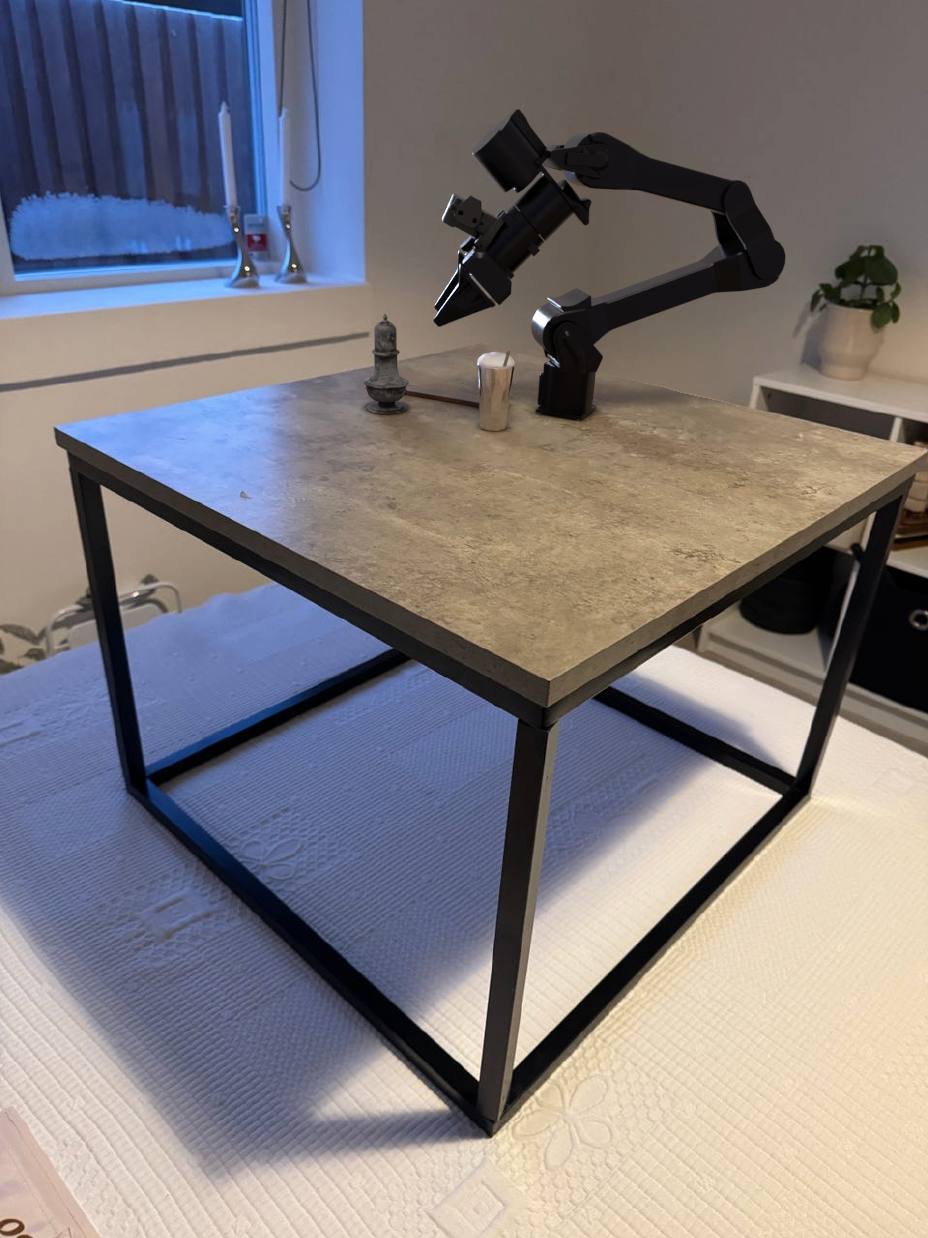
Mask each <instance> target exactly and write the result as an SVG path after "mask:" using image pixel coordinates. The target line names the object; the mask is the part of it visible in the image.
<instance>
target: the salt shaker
mask: <svg viewBox="0 0 928 1238" xmlns="http://www.w3.org/2000/svg"><path fill="white" fill-rule="evenodd" d="M388 318H389V317H388V316H387V313H384V314H383V316H382V320H381V321H379V322H377V323H376V324H375V325H374V328H373V330H374V331H373V332H374V333H373V334H374V336H373V337H374V339H373V340H374V349H372V350H371V353H372V354H373V362H374V365H373V366H374V367H373V371H372V375H370V377H367V378H365V379H363V384H364V385H365V390H366V392H367V395H368V396H369V397H370V399H372V400H373V401H372V402H370V404H367V406H366V411H368V412H369V413H373V414H377V415H378V414H379V415H397V414H401V413H404V412H406V411H407V406H406V405H405V404H403V403H402V402H400V401H401V400H402V399H403V398H404V396H405V395H406V394H405V391H406V386H407V385H408V384H409V382H410V381H409V380H408V379H407V378H405V377H402V376H401V375H400V373H399V369H398V355H399V354H400V353H401V352H400V350H399V349H397V347H398V346H397V342H398V340H397V339H398V337H397V336H398V335H397V326H396V325H395V324H394V323H393V322H390V321H389V320H388Z"/></svg>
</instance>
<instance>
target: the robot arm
mask: <svg viewBox="0 0 928 1238" xmlns="http://www.w3.org/2000/svg"><path fill="white" fill-rule="evenodd" d="M471 154H472V155H473V157H474V158H475V159H476V160H477V162H478V163H479V164H480V165H481V166H482V167H483V169H484V170H485V171H486V173H488V174H489V176H490V177H491V179H492V180H494V182H495V184H497V186H498V187H499V188H500V189H501V191H502V192H503V193H507V192H509V191H511V190H513V191H514V192H515V194H519V193H521V192H522V191H524V190H525V189H526V188H527V187H528V186H529V187H528V188H527V190H525V191H524V192H523V193H522V194H521V196H519V197H518V198H517V200H515V202H513V204H512V205H511V206H509V208H508V209H507V208H505V209H503V208H502V209H501V210H500V211H498V213H497V214H496V215H494V214H492V213H491V212H488V211H487V210H486V209H484V208H482V206H483V205H482V200H481V199H478V198H477V197H474V196H473V195H471V194H469V195H468V196H467V197H465V198H464V197H462V196H460V195H458V194H456V193H452V195H451V198H450V200H449V201H448V204H447V206H446V209H445V211H444V213H443V215H442V218H441V221H442V222H443V223H444V224H445V225H447V226H449V227H451V228H457V229H458V230H460V231H462V232H463V233H466V234H468V235H469V237H467V239H465V240H464V242H462V244H460V249H461V250H462V251H463V252H464V253H463V252H462V251H461V250H460V249H458V250H457V251H458V252H457V269H456V271H455V273H453V276H452V277H451V279H450V281H449V282H448V284H447V285H446V287H445V288H444V289H443V291H442V293H441V295H440V296H439V297H438V299H437V301H436V303H435V304H434V306H433V308H434V310H435V311H436V312H437V313H436V315H435V316H434V317H433V320H432V321H433V323H434V324H435V325H436V326H437V327H438V328H441V327H444V326H445V325H449V324H452V323H453V322H456V321H458V320H461V319H464V318H466V317H468V316H471V315H473V314H477V313H480V312H482V311H485V310H488V309H491V308H492V309H493V308H495V307H496V304H497V305H498V306H501V304H503V303H504V302H505V301H506V300H507V299H508V298H509V297H510V296H511V295H512V286H513V282H512V279H513V278H514V277H515V274H514V273H515V272H516V271H517V270H519V268H520V267H521V266H522V265H523V264H524V263H525V262H526V261H527V260H528V259H530V257H531V256H533V257H535V256H537V254H538V253H539V252H540V251H541V250H540V248H541V246H543V245H544V244H545V242H547V241H548V240H549V238H551V237H552V236H553V235H554V234H555V232H556V231H558V230H559V229H560V228H561V227H562V226H563V225H564V224H565V223H566V222H567V221H568V220H569V219H570V218H571V217H572V216H574V217H575V218H576V219H577V221H579V222H580V223H581V224H582V225H583V226H588V225H590V211H591V210H590V209H591V206H592V202H593V201H592V200H591V199H590V198H589V197H587V196H586V197H580V196H579V195H578V193H577V192H576V191H575V190H574V188H573V187H572V186H571V185H570V183H571V184H573V185H574V186H579V187H583V188H588V189H594V190H612V191H613V190H614V191H638V192H642V193H645V194H649V195H653V196H657V197H660V198H663V199H668V200H672V201H675V202H679V203H682V204H687V205H689V206H694V207H697V208H702V209H705V210H709V211H710V213H711V216H712V218H713V219H712V220H713V224H714V225H713V226H714V232H715V237H716V240H717V242H718V245H716V246H715V247H714V248H713V249H711V251H709V252H708V253H707V254H706V255H705V256H703V258H701V259H700V260H698V261H695V262H693V263H689V264H686V265H684V266H681V267H679V268H675V269H673V270H670V271H668V272H665V273H662V274H660V275H659V274H658V275H656V276H653V277H651V278H648V279H645V280H643V281H639V282H636V283H634V284H632V285H631V284H630V285H629V286H626V287H623V288H620V289H618V290H615V291H612V292H609V293H606V294H603V295H601V296H597V297H596V296H595V297H592V296H591V295H590V294H588V293H587V292H585V291H583V290H581V289H580V288H578V287H575V288H573V289H572V290H569V291H567V292H566V293H563V294H562V295H560V296H555V297H553V296H552V297H551V296H548V297H547V301H548V303H545V304H543V305H541V306H539V308H538V309H537V310H536V311H535V314H534V315H533V317H532V318H531V319H532V320H531V325H530V328H531V329H530V331H531V334H532V337H533V339H534V341H535V342H536V343H537V344H538V345H539V346H540V347H541V348H542V350H543V354H544V357H545V358H546V359H548V361H546V362H544V363H543V370H542V372H541V373H540V374H539V376H538V389H537V405H538V406H537V407H536V408H535V413H538V414H542V415H548V416H553V417H554V416H555V417H561V418H567V419H573V420H579V421H580V420H583V419H585V417H587V416H588V415H590V414H592V412H594V411H595V410H597V404H593V402H594V393H595V384H596V376H597V375H596V374H597V372H598V370H599V368H600V365H601V363H602V361H603V359H604V356H603V354H602V352H600V350H599V349H598V348H597V347H596V346H595V344H597V343H598V342H599V341H600V340H602V339H603V338H604V337H605V336H606V335H607V334H608V333H609V332H611V331H613V330H615V329H618V328H620V327H624V326H626V325H629V324H632V323H634V322H637V321H640V320H643V319H646V318H648V317H651V316H654V315H657V314H659V313H663V312H665V311H668V310H671V309H674V308H676V307H679V306H681V305H685V304H687V303H690V302H693V301H695V300H696V301H697V300H698V299H701V298H704V297H706V296H709V295H713V294H717V293H719V294H720V293H734V292H735V293H736V292H737V293H738V292H746V291H752V290H757V289H758V290H759V289H763V288H764V289H765V288H768V287H769V286H771V285H773V284H775V283H776V282H777V281H779V279H780V276H781V274H782V272H783V271H784V268H785V266H786V251H785V248H784V247H783V245H782V243H781V242H779V241H778V240H776V238H775V236H774V233H773V230H772V228H771V226H770V225H769V223H768V221H767V219H766V217H765V216H764V215H763V213H762V212H761V210H760V208H759V206H757V204H756V201H755V199H754V196H753V192H752V191H751V188H750V187H749V185H748V184H747V183H746V182H745V181H743V180H739V179H731V178H724V177H720V176H717V175H713V174H710V173H706V172H703V171H699V170H695V169H692V168H688V167H685V166H682V165H677V164H674V163H670V162H667V161H663V160H660V159H656V158H654V157H653V158H652V157H650V156H648V155H646V154H644V153H642V152H641V151H639V150H637V149H636V148H634V147H632V146H631V145H630V144H628V143H626V142H624V141H622V140H620V139H618V138H616V137H614V136H613V135H611V134H609V133H607V132H601V131H580V132H577V133H575V134H574V135H572V136H571V137H570V138H569V139H568V140H567V141H566V143H565V144H549V143H548V144H547V145H545V143H544V142H543V141H542V140H541V138H540V137H539V135H538V134H537V133H536V132H535V130H534V129H533V128H532V126H531V125H530V124H529V122H528V119H527V117H526V116H525V114H524V113H523V111H522V110H521V109H518V108H517V109H512V111H510V113H509V114H508V115H507V116H505V117H504V118H503V119H501V120H500V121H499V122H498V123H497V124H496V125H495V126H494V127H493V128H490V129H488V130H487V131H486V133H484V134H483V136H482V137H481V139H480V140H479V141H478V142H477V143H476V144H475V146H474V148H473V149H472V152H471ZM547 168H548V169H553V170H556V171H559V172H562V173H563V176H564V178H565V179H561V180H559V181H556V180H555V179H554V178H553V177H552V175H551V174H550V172H548V170H547ZM539 174H541V175H540V176H539ZM538 176H539V177H538ZM537 177H538V178H537ZM536 178H537V179H536ZM535 179H536V180H535ZM534 180H535V181H534ZM533 181H534V182H533ZM532 182H533V183H532ZM531 183H532V184H531ZM530 184H531V185H530Z"/></svg>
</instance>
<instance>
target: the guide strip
mask: <svg viewBox="0 0 928 1238" xmlns="http://www.w3.org/2000/svg"><path fill="white" fill-rule="evenodd" d="M404 395H408V396H413V397H419V398H424V399H431V400H436V401H441V402H442V401H443V402H447V403H453V404H459V405H464V406H465V405H466V406H471V407H477V408H480V406H479V395H475V394H469V393H463V392H455V391H451V390H444V389H438V388H432V387H427V386H420V385H414V384H409V383H408V385H407V386H406V391H405V394H404Z"/></svg>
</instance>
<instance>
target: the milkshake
mask: <svg viewBox="0 0 928 1238" xmlns="http://www.w3.org/2000/svg"><path fill="white" fill-rule="evenodd" d="M510 354H511V351H509V350H508V351H507V350H506V353H504V352H500V351H491V352H485V353H482V354H481V355H480V356H479V357H478V358H477V362H476V363H477V377H478V379H477V380H478V396H479V406H480V407H479V427H480V428H481V429H482V430H485V431H490V432H500V431H504V430H505V429H507V423H508V417H509V408H510V400H511V392H512V385H513V381H514V373H515V366H516V361H515V360H514V358H513V357H512V356H511V355H510Z"/></svg>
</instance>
